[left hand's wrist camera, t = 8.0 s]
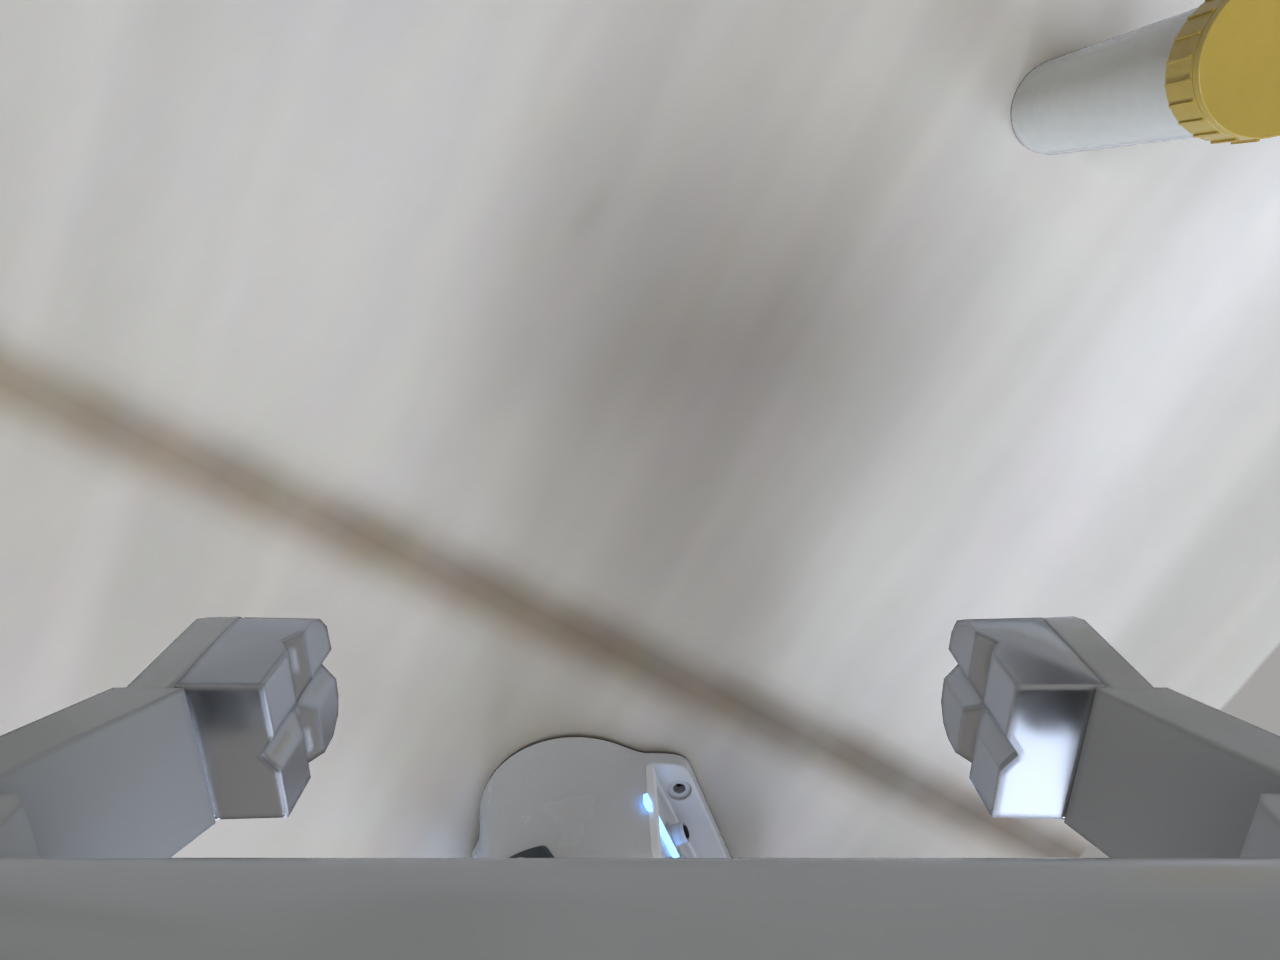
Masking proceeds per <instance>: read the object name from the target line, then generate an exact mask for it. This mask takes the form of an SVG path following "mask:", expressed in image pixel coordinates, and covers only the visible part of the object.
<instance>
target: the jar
mask: <svg viewBox="0 0 1280 960" xmlns="http://www.w3.org/2000/svg"><path fill="white" fill-rule="evenodd" d="M1196 9H1197V8H1195V9H1193V10H1190V11H1187V12H1184V13H1181V14H1178V15H1176V16H1173V17H1170V18H1167V19H1164V20H1161V21H1159V22H1156V23H1153V24H1150V25H1147V26H1145V27H1142V28H1139V29H1136V30H1133V31H1130V32H1128V33H1125V34H1122V35H1119V36H1116V37H1114V38H1111V39H1108V40H1105V41H1102V42H1099V43H1097V44H1094V45H1091V46H1088V47H1085V48H1083V49H1080V50H1077V51H1074V52H1071V53H1068V54H1066V55H1063V56H1060V57H1057V58H1054V59H1052V60H1049V61H1046V62H1044V63H1042V64H1040V65H1039V66H1037V67H1036V68H1034V69H1033V70H1032V71H1031V72H1030V73H1029V74H1028V75H1027V76H1026V77H1025V78H1024V80H1023V81H1022V82H1021V84H1020V86H1019V87H1018V89H1017V91H1016V94H1015V96H1014V100H1013V103H1012V110H1011V119H1012V125H1013V129H1014V132H1015V134H1016V136H1017V138H1018V139H1019V141H1020V142H1021V143H1022V144H1023V145H1024V146H1025V147H1026V148H1028V149H1029V150H1031V151H1033V152H1035V153H1038V154H1043V155H1055V154H1063V153H1071V152H1080V151H1088V150H1096V149H1105V148H1113V147H1121V146H1130V145H1138V144H1146V143H1155V142H1163V141H1171V140H1179V139H1188V138H1194V137H1192V136H1193V134H1191V133H1189V132H1188V131H1187V130H1186V129H1184V128H1183V127H1182V126H1181V125H1180V126H1179V124H1178V123H1179V122H1178V121H1177V120H1176V118H1175V116H1174V115H1173V113H1172V111H1171V109H1170V108H1169V107H1168V106H1169V103H1168V100H1167V96H1166V88H1165V87H1164V84H1165V74H1166V66H1167V64H1166V62H1167V61H1168V57H1169V54H1170V51H1171V48H1172V45H1173V43H1174V38H1175V37H1177V35H1178V33H1179V32H1180V30H1181V28H1182V27H1183V25H1184V24H1185V22H1186V21H1187V20H1188V19H1187V17H1188V16H1190V15H1192V14H1193V13H1194V12H1195V11H1196Z"/></svg>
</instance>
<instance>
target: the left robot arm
mask: <svg viewBox="0 0 1280 960" xmlns="http://www.w3.org/2000/svg"><path fill="white" fill-rule="evenodd" d="M330 650H331V645H330V640H329V635H328V630H327V626H326V625H325V624H324V623H323V622H322V621H321V619H301V618H249V617H245V618H241V617H207V618H200V619H196V620H195V621H194V622H193V623H192V624H191V625H190V626H189V627H188V628H187V629H186V630H185V631H184V632H183V633H182V634H181V635H180V636H179V637H178V638H177V639H176V640H175V641H174V642H173V643H171V644H170V645H169V646H168V647H167V648H166V649H165V650H164V651H163V652H162V653H161V654H160V655H159V656H158V657H157V658H156V659H155V660H154V661H153V662H152V663H151V664H150V665H149V666H148V667H147V668H146V669H145V670H144V671H143V672H142V673H141V674H140V675H139V676H137V677H136V678H135V679H134V680H133V681H132V682H131V683H130V684H129V685H128V686H127V687H126V688H111V689H109V690H107V691H104V692H102V693H100V694H97V695H95V696H93V697H90V698H88V699H86V700H83V701H81V702H79V703H76V704H74V705H72V706H69V707H67V708H65V709H62V710H60V711H58V712H55V713H53V714H51V715H48V716H46V717H44V718H41V719H39V720H37V721H34V722H32V723H30V724H27V725H25V726H23V727H20V728H18V729H16V730H13V731H11V732H9V733H6V734H4V735H2V736H0V960H1280V736H1278V735H1276V734H1273V733H1271V732H1269V731H1266V730H1264V729H1262V728H1259V727H1257V726H1255V725H1252V724H1250V723H1248V722H1245V721H1243V720H1241V719H1238V718H1236V717H1234V716H1232V715H1229V714H1227V713H1225V712H1222V711H1220V710H1218V709H1215V708H1213V707H1211V706H1208V705H1206V704H1204V703H1201V702H1199V701H1197V700H1194V699H1192V698H1190V697H1187V696H1185V695H1183V694H1180V693H1178V692H1176V691H1173V690H1171V689H1169V688H1154V687H1153V686H1152V685H1151V684H1150V683H1149V682H1148V681H1147V680H1146V679H1145V678H1144V677H1143V676H1142V675H1141V674H1140V673H1139V672H1137V671H1136V670H1135V669H1134V668H1133V667H1132V666H1131V665H1130V664H1129V663H1128V662H1127V661H1126V660H1125V659H1124V658H1123V657H1122V656H1121V655H1120V654H1119V653H1118V652H1117V651H1116V650H1115V649H1114V648H1113V647H1112V646H1111V645H1110V644H1109V643H1108V642H1107V641H1106V640H1105V639H1104V638H1103V637H1102V636H1101V635H1099V634H1098V633H1097V632H1096V631H1095V630H1094V629H1093V628H1092V627H1091V626H1090V625H1089V624H1088V623H1087V622H1086V621H1085V620H1083V619H1080V618H1077V617H1049V618H1005V619H966V620H957V621H956V624H955V626H954V628H953V630H952V633H951V639H950V645H949V650H950V652H951V653H952V655H953V657H954V658H955V660H956V661H957V663H958V665H957V666H956V667H955V668H954V669H953V670H952V671H951V672H950V673H949V674H948V675H947V676H946V677H945V678H944V683H943V691H942V700H941V704H942V714H943V723H944V727H945V730H946V733H947V736H948V739H949V741H950V743H951V745H952V747H953V748H954V750H955V752H956V753H957V754H959V755H961V756H962V757H964V758H965V759H967V760H968V761H970V762H971V763H972V765H971V771H970V777H969V778H970V779H971V781H972V783H973V785H974V786H975V788H976V790H977V792H978V794H979V795H980V797H981V799H982V801H983V802H984V804H985V806H986V808H987V809H988V811H989V813H990V815H991V817H999V818H1036V819H1065V822H1064V823H1066V824H1067V825H1068V826H1070V827H1071V828H1072V829H1073V830H1075V831H1076V832H1077V833H1079V834H1080V835H1081V836H1083V837H1084V838H1085V839H1086V840H1088V841H1089V842H1090V843H1092V844H1093V845H1094V846H1096V847H1097V848H1098V849H1099V850H1101V851H1102V852H1103V853H1105V854H1106V855H1107V856H1108V857H1110V858H731V857H730V855H729V852H728V850H727V848H726V846H725V843H724V841H723V839H722V836H721V834H720V832H719V829H718V827H717V825H716V823H715V820H714V818H713V816H712V813H711V811H710V809H709V807H708V804H707V802H706V800H705V797H704V795H703V793H702V790H701V788H700V786H699V784H698V781H697V779H696V777H695V774H694V772H693V770H692V767H691V765H690V763H689V762H688V761H687V760H686V759H685V758H684V757H682V756H679V755H675V754H667V753H642V752H638V751H634V750H631V749H629V748H626V747H624V746H621V745H618V744H615V743H612V742H609V741H605V740H601V739H595V738H587V737H564V738H556V739H551V740H547V741H543V742H540V743H537V744H534V745H531V746H529V747H527V748H525V749H523V750H521V751H519V752H517V753H516V754H514V755H513V756H511V757H510V758H509V759H507V760H506V761H505V762H504V763H503V764H502V765H501V766H500V767H499V768H498V769H497V770H496V771H495V772H494V774H493V775H492V776H491V778H490V779H489V781H488V783H487V785H486V787H485V789H484V792H483V795H482V798H481V803H480V833H479V840H478V842H477V844H476V846H475V848H474V850H473V852H472V855H471V858H170V857H172V856H173V855H174V854H176V853H177V852H178V851H180V850H181V849H182V848H183V847H185V846H186V845H187V844H189V843H190V842H191V841H193V840H194V839H195V838H196V837H198V836H199V835H200V834H202V833H203V832H204V831H206V830H207V829H208V828H209V827H211V826H212V825H213V824H215V819H243V818H278V817H289V815H290V813H291V811H292V810H293V808H294V806H295V804H296V803H297V801H298V799H299V797H300V795H301V794H302V792H303V790H304V788H305V786H306V785H307V783H308V781H309V779H310V778H311V777H310V771H309V765H308V763H309V762H310V761H312V760H313V759H315V758H316V757H318V756H319V755H321V754H323V753H324V752H325V750H326V748H327V747H328V745H329V743H330V741H331V739H332V737H333V734H334V729H335V725H336V721H337V717H338V689H337V682H336V678H335V677H334V676H333V675H332V674H331V673H330V672H329V671H328V670H327V669H326V668H325V667H324V666H323V665H322V663H323V661H324V660H325V658H326V657H327V655H328V653H329V652H330ZM676 784H683V785H682V786H675V785H676Z"/></svg>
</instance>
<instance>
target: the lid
mask: <svg viewBox="0 0 1280 960" xmlns="http://www.w3.org/2000/svg"><path fill="white" fill-rule="evenodd" d="M1187 19H1188V20H1187V21H1186V22H1185V24H1184V25H1183V27H1182V28H1181V30H1180V32H1179V33H1178V35H1177V37H1175V38H1174V43H1173V45H1172V48H1171V51H1170V54H1169V57H1168V61H1167V62H1166V64H1167V66H1166V74H1165V84H1164V87H1165V88H1166V96H1167V100H1168V103H1169V106H1168V107H1169V108H1170V109H1171V111H1172V113H1173V115H1174V116H1175V118H1176V120H1177V121H1178V122H1179V123H1178V124H1179V126H1180V125H1181V126H1182V127H1183V128H1184V129H1186V130H1187V131H1188V132H1189V133H1191V134H1193V136H1192V137H1194V138H1196V137H1198V138H1201V139H1203V140H1206V141H1211V144H1217V143H1227V142H1231V144H1238V143H1248V142H1258V141H1259V140H1260V139H1264V138H1271V137H1275V136H1280V0H1205V2H1204V3H1203V4H1202V5H1201V6H1199V7H1198V8H1197V9H1196V11H1195V12H1194V13H1193V14H1192V15H1190V16H1188V17H1187Z"/></svg>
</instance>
